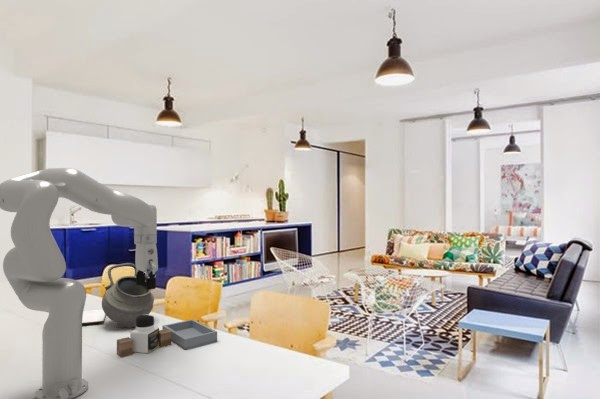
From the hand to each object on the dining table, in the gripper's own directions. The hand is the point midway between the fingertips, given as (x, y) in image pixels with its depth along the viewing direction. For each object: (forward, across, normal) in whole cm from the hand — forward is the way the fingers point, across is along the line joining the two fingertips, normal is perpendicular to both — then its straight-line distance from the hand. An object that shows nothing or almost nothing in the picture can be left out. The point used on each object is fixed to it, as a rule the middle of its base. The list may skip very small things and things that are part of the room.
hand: (145, 286), depth 144 cm
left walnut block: (+22, 0, +7) cm, 23 cm away
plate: (+23, +51, +9) cm, 56 cm away
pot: (+23, +33, -5) cm, 40 cm away
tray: (+22, 0, -17) cm, 28 cm away
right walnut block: (+22, 0, -7) cm, 23 cm away
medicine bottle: (+22, 0, 0) cm, 23 cm away
